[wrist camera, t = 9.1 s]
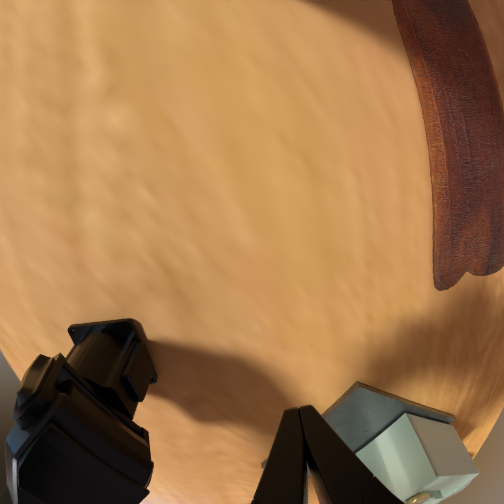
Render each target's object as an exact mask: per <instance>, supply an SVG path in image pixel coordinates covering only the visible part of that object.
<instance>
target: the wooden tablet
mask: <svg viewBox="0 0 504 504" xmlns="http://www.w3.org/2000/svg"><path fill="white" fill-rule="evenodd" d="M392 2H393V9H394V14H395V17H396V20H397V23H398V26H399V29H400V32H401V35H402V37H403V40H404V44H405V47H406V50H407V53H408V57H409V60H410V64H411V68H412V71H413V75H414V78H415V83H416V86H417V89H418V93H419V98H420V103H421V106H422V113H423V118H424V124H425V130H426V137H427V144H428V150H429V161H430V176H431V184H432V202H433V278H434V285H435V288H436V289H437V290H439V291H442V290H447V289H449V288H450V287H452V286H454V285H455V284H456V283H457V282H458V281H459V280H460V278H461V277H462V276H463V275H464V274H465V272H467V271H468V272H469V273H471V274H472V275H474V276H475V275H477V276H484V275H490V274H493V273H495V272H497V271H499V270H500V269H501V268H502V267H503V266H504V113H503V108H502V103H501V98H500V93H499V89H498V85H497V82H496V78H495V74H494V71H493V67H492V64H491V60H490V56H489V54H488V51H487V48H486V44H485V42H484V39H483V36H482V33H481V31H480V29H479V26H478V23H477V21H476V18H475V16H474V14H473V11H472V9H471V7H470V5H469V3H468V1H467V0H392Z"/></svg>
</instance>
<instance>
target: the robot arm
mask: <svg viewBox="0 0 504 504" xmlns="http://www.w3.org/2000/svg"><path fill="white" fill-rule="evenodd" d="M126 324H128V325H129V326H130V327H128V326H126ZM73 330H74V331H73ZM68 333H69V335H70V337H71V339H72V341H73V343H74V346H73V348H72V349H71V351H70V352H69V354H68V355H67V357H66V358H65V357H64V356H63V355H62V354H61V353H59V354H57V355H56V356H55V357H52V358H50V357H47V356H44V355H41V354H40V355H39V356H37V357H36V359H35V360H34V361H33V363H32V364H31V365H30V367H29V368H28V370H27V371H26V373H25V374H24V376H23V379H22V381H21V383H20V386H19V388H18V391H17V398H16V402H15V407H14V411H13V416H12V420H13V421H15V422H16V424H15V426H14V427H13V429H12V430H11V432H10V433H9V435H8V436H7V438H6V472H7V473H6V474H7V485H6V487H5V489H4V490H3V492H2V494H1V495H0V504H139V503H140V502H141V501H142V500H143V499H144V498H145V497H146V496H147V495H148V494H149V493H150V491H149V490H148V489H147V487H148V485H149V483H150V481H151V477H152V473H153V468H154V463H153V461H151V453H150V444H149V432H148V431H147V430H146V429H144V428H143V427H142V428H141V427H140V426H138V425H137V424H136V423H135V422H133V421H132V420H133V417H134V414H135V411H136V408H137V405H138V402H142V401H143V400H144V398H145V395H146V392H147V389H148V386H149V384H152V383H156V382H157V379H158V376H157V374H156V372H155V370H154V364H153V362H152V360H151V358H150V355H149V353H148V351H147V349H146V346H145V344H144V343H143V342H142V341H141V339H140V336H139V334H138V332H137V329H136V327H135V325H134V323H133V321H132V320H130V319H119V320H110V321H102V322H92V323H83V324H73V325H70V327H69V328H68ZM151 377H152V378H151ZM307 465H308V468H307ZM308 469H309V472H310V476H311V479H312V482H313V485H314V488H315V491H316V494H317V497H318V500H319V503H320V504H405V503H404V502H403V501H401V500H400V499H399V498H398V497H396V496H395V495H394V494H393V493H392V492H391V491H390V490H389V489H388V488H387V487H386V486H385V485H384V484H383V483H382V482H381V481H380V480H379V479H378V478H377V477H376V476H374V474H373V473H372V472H371V471H370V470H369V469H368V468H367V467H366V465H365V464H364V463H363V462H362V461H361V460H360V459H359V458H358V457H357V456H356V454H355V453H354V452H353V451H352V450H351V449H350V448H349V447H348V446H347V444H346V443H345V442H344V441H343V440H342V439H341V438H340V437H339V435H338V434H337V433H336V432H335V431H334V430H333V429H332V427H331V426H330V425H329V424H328V423H327V422H326V421H325V419H324V418H323V417H322V416H321V415H320V414H319V412H318V411H317V410H316V409H315V408H314V407H313V406H312V405H305V406H300V407H299V410H298V408H297V407H294V408H289V409H285V410H284V412H283V416H282V419H281V422H280V425H279V428H278V431H277V434H276V437H275V440H274V443H273V446H272V448H271V451H270V454H269V457H268V460H267V463H266V465H265V468H264V471H263V474H262V476H261V479H260V482H259V484H258V487H257V490H256V492H255V495H254V497H253V498H254V499H253V500H252V502H251V504H308ZM373 476H374V477H373Z"/></svg>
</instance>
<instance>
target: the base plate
mask: <svg viewBox="0 0 504 504" xmlns="http://www.w3.org/2000/svg"><path fill="white" fill-rule="evenodd" d="M405 413H408V414H411V415H415V416H418V417H422V418H425V419H429V420H433V421H437V422H441V423H445V424H449V425H450V424H451V423H452V422H453V421H454V420H455V419H456V418H455V416H454V415H452V414H448V413H445V412H442V411H439V410H436V409H432V408H429V407H426V406H423V405H420V404H417V403H414V402H411V401H408V400H406V399H403V398H400V397H397V396H394V395H391V394H389V393H386V392H383V391H381V390H378V389H375V388H372V387H370V386H367V385H365V384H362V383H359V382H356V383H355V384H354V385H353V386H352V387H351V388H350V389H349V390H348V391H347V392H346V393H345V394H343V395H342V396H341V397H340V398H339V399H338V400H337V401H336V402H335V403H334V404H333V405H332V406H331V407H330V408H329V409H327V410H326V411H325V412H324V413H323V414H322V415H321V416H322V417H323V418H324V419H325V421H326V422H327V423H328V424H329V425H330V426H331V427H332V429H333V430H334V431H335V432H336V433H337V434H338V435H339V437H340V438H341V439H342V440H343V441H344V442H345V443H346V444H347V446H348V447H349V448H350V449H351V450H352V451H353V452H354V453H355V454H356V453H357V452H359V451H360V450H361V449H363V448H364V447H365V446H367V445H368V444H369V443H370V442H372V441H373V440H374V439H375V438H377V437H378V436H379V435H380V434H382V433H383V432H384V431H385V430H386V429H388V428H389V427H390V426H391V425H392V424H393V423H395V422H396V421H397V420H398V419H399V418H400V417H401V416H402V415H404V414H405ZM267 460H268V459H267ZM267 460H265V461H264V462H263V463H261V466H262V468H265V465H266V463H267ZM307 468H308V465H307ZM308 477H311V476H310V472H309V469H308ZM410 498H411V499H410V500H408V501H407V502H406V503H405V504H422V503H424V502H425V501H427V500H428V499H429V498H430V495H429V492H424V493H421V492H417V493H416V494H414V495H413V496H411V497H410Z"/></svg>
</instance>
